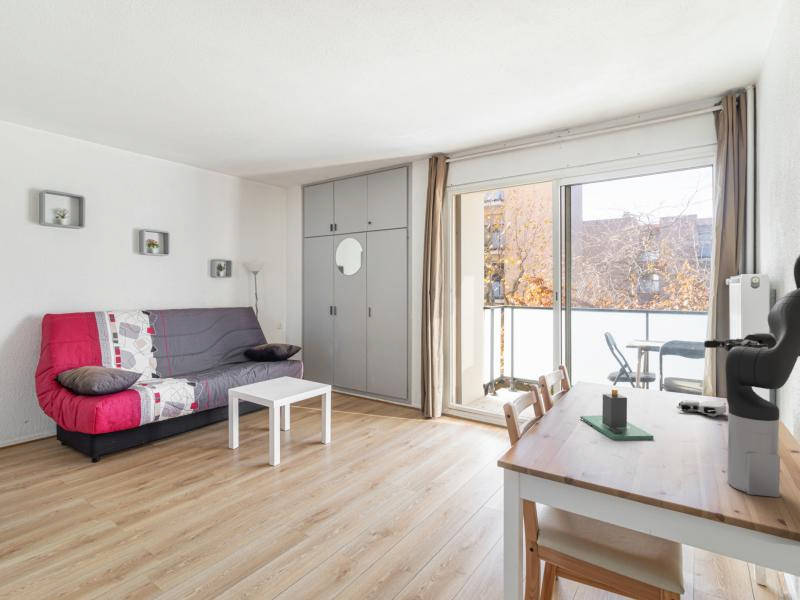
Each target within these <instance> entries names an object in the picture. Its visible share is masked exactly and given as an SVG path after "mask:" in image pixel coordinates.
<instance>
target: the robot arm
mask: <svg viewBox="0 0 800 600" xmlns="http://www.w3.org/2000/svg"><path fill="white" fill-rule="evenodd" d="M793 279H794V282H795V283H794V284H795V287H796V289H794V290H791V291H789V292H787V293H784V295H782V296H780V297H779V298H778V300H777V301H776V303H774V305H773V306H772V308H771V309H770V310H769V313H768V315H767V324H768V327H769V329H770V330H771V333H769V332H768V333H766V332H765V333H761V332H759V333H758V332H757V333H754V332H753V333H748V334H747V335H745V337H744V338H724V339H723V338H722V339H720V338H719V339H717V338H714V339H713V338H712V340H704V342H703V343H704V348H707V349H708V348H709V349H714V348H716V349H724V350H725V351H726V352H727V355H726V358H725V364H724V365H725V366H724V368H725V369H724V370H725V384H726V388H725V389H726V392H725V393H726V403H727V406H728V407H727V409H728V411H727V412H728V413H727V415H728V417H727V419H728V420H727V423H728V424H727V477H726V478H727V484H728V485H729V486H731V487H733V489H734V488H735V489H737V490H739V491H742V492H744V493H746V495H750V496H751V495H752V496H765V497H772V498H773V497H775V498H779V497H780V478H781V477H780V476H781V473H780V471H781V466H780V465H781V456H780V455H779V439H780V437H779V435H780V434H779V431H780V409H779V407H778V406H777V405H776V404H774V403H773V402H771V401H769V400H767V399H765V398H763V397H761V396H760V395H759V394H757V392H755V390H754V389H753V388H759V389H765V390H779V389H780V388H782V387H784V385H785V384H786V383H787V382H788V380H789V378H790V377H791V374H792V372H793V370H794V368H795V365H796V363H797V360H798V358H799V357H800V253H799V254H798V255H797V257H796V259H795V262H794V264H793Z"/></svg>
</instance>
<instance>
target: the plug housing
mask: <svg viewBox="0 0 800 600" xmlns="http://www.w3.org/2000/svg"><path fill="white" fill-rule="evenodd" d="M618 392H619V391H618V389H615V388H614V389H611V393H603V394H602V416H603V417H602V423H604V424H605V425H607V426H609V427H611V428H613V427H616V428H627V422H628V397H626V396H623V395H622V394H619V393H618Z"/></svg>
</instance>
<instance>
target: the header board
mask: <svg viewBox="0 0 800 600" xmlns="http://www.w3.org/2000/svg"><path fill="white" fill-rule="evenodd" d="M602 417H603V415H580V417H579V419H580V418H581V419H583V420H584V421H586V422H587V423H588V424H587V423H586V422H585V423H586V424H587V425H589V424H590V425H592V426H593V427H594V429H595V428H596V429H595V430H597V431H598V432H600V433H601V434H602V435H605V436H606V437H607V438H609V439H611V440H612V441H634V440H635V441H637V440H638V441H640V440H641V441H645V440H649V441H650V440H653V441H654V435H653V434H651V433H649V432H647V431H646V430H644V429H641V428H640V427H638V426H636V425H634V424H632V423H631V422H628V421H627V428H616V427H613V428H611V427H609V426H607V425H605V424H604V423H602ZM581 419H580V420H581ZM583 420H582V421H583ZM584 421H583V422H584ZM590 425H589V426H590ZM592 426H591V427H592ZM593 427H592V428H593Z"/></svg>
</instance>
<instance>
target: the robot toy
mask: <svg viewBox="0 0 800 600" xmlns="http://www.w3.org/2000/svg"><path fill="white" fill-rule="evenodd" d="M726 405H728V402H721V401H720V402H719V401H718V402H717V401H710V400H709V401H701V402H699V401H698V400H690V399H688V400H684V401H680V402H678V405H676V409H679V410H680V409H681V411H686V412H688V413H692V412H695V413H697V412H698V411H699V412H700V413H701V414H705V415H707V416H709V417H711V418H713V417H717V416H720V415H723V414H726V412H727V406H726Z"/></svg>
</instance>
